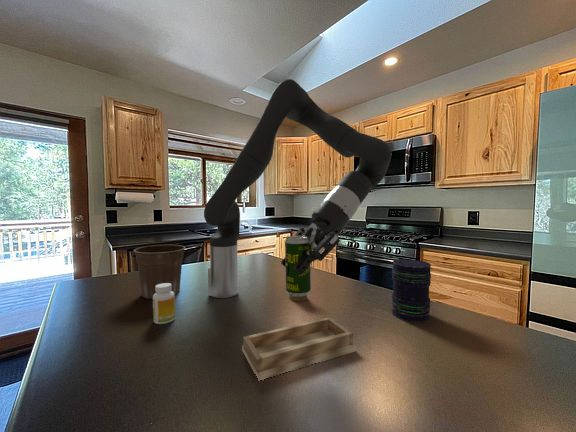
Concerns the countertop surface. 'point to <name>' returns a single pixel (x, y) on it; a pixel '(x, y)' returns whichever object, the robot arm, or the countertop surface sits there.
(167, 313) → the supplement bottle
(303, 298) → the cork
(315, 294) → the countertop surface
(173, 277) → the plant pot
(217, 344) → the countertop surface
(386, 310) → the countertop surface
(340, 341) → the wooden rimmed tray
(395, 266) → the storage jar
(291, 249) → the beer can
